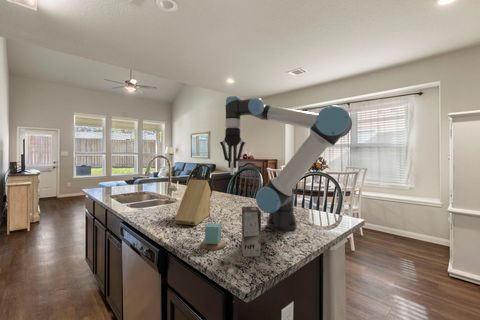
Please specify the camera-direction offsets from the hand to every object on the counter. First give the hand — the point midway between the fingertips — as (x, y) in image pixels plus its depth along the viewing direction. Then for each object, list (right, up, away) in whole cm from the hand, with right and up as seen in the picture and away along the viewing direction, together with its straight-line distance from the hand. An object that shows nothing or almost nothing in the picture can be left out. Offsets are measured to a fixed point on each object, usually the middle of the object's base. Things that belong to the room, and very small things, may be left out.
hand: (232, 174), depth 117 cm
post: (-7, -27, -25) cm, 37 cm away
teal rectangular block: (-7, -25, -25) cm, 36 cm away
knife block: (-21, -26, +16) cm, 37 cm away
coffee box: (+8, -27, -31) cm, 42 cm away
